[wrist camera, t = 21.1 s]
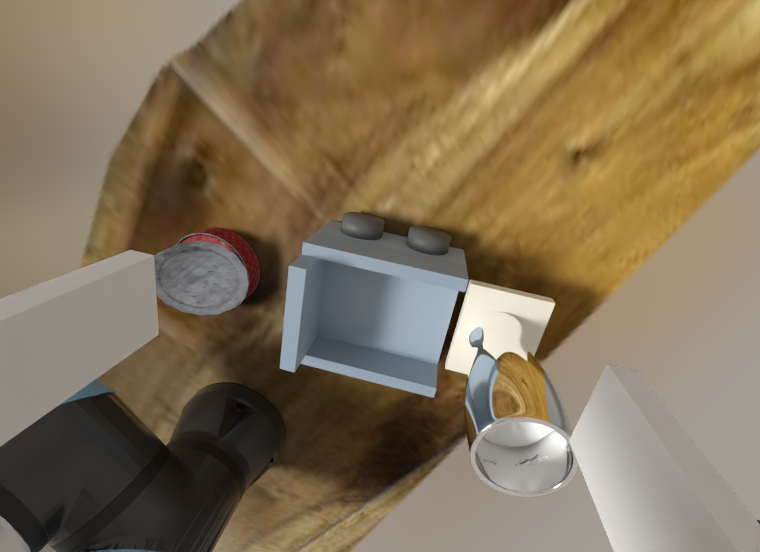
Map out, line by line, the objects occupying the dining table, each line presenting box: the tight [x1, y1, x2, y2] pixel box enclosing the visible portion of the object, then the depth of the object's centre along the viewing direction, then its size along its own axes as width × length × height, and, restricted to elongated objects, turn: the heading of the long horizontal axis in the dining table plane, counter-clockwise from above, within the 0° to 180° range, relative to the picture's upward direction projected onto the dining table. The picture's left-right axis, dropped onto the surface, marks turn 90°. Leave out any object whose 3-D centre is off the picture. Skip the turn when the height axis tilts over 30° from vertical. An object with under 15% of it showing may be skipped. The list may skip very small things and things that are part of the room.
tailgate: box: [445, 279, 555, 375], centre depth 38 cm, size 2×10×8 cm
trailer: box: [280, 212, 469, 398], centre depth 38 cm, size 24×16×12 cm
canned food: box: [154, 227, 260, 315], centre depth 44 cm, size 11×10×10 cm
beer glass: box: [464, 312, 579, 497], centre depth 30 cm, size 7×7×15 cm
